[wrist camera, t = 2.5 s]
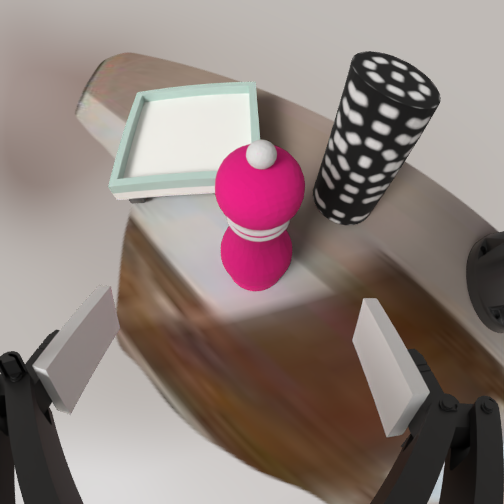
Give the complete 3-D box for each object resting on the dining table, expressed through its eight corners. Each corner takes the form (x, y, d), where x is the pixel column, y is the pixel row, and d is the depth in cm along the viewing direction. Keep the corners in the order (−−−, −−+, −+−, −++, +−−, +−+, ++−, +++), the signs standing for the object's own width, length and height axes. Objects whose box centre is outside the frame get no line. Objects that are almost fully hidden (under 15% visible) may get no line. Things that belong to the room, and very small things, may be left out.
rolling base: (254, 110, 44) (255, 81, 38) (261, 204, 37) (262, 176, 32) (146, 118, 44) (137, 92, 38) (125, 211, 37) (108, 186, 31)
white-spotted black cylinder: (363, 235, 36) (441, 124, 17) (304, 209, 37) (342, 78, 19) (377, 187, 39) (438, 78, 20) (323, 164, 40) (359, 42, 21)
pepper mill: (266, 226, 36) (280, 92, 18) (298, 276, 34) (351, 166, 15) (213, 254, 35) (177, 130, 16) (243, 307, 32) (235, 222, 14)
